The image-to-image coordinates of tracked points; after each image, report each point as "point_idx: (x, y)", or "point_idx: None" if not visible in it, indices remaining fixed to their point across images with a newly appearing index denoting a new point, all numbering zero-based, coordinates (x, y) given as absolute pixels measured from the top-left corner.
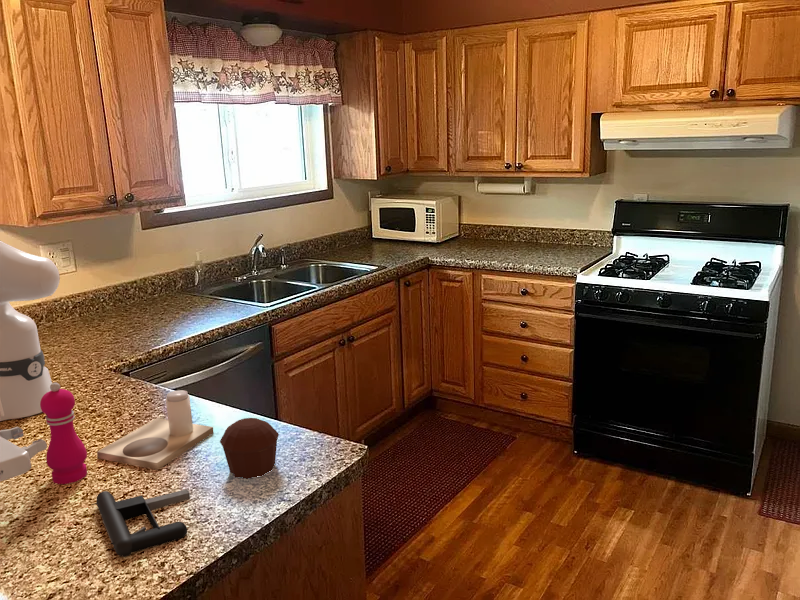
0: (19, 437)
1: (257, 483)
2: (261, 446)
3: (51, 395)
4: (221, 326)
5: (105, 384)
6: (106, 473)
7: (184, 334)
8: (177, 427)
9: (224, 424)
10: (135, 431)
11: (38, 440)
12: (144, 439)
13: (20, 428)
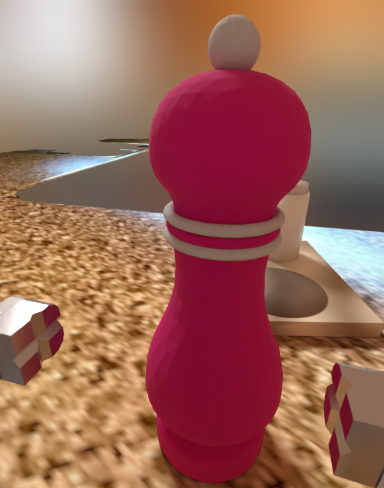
0: (46, 358)
1: None
2: None
3: (257, 77)
4: (93, 166)
5: (22, 210)
6: (290, 378)
7: (63, 171)
8: (294, 244)
9: None
10: None
11: (363, 386)
12: None
13: (46, 304)
